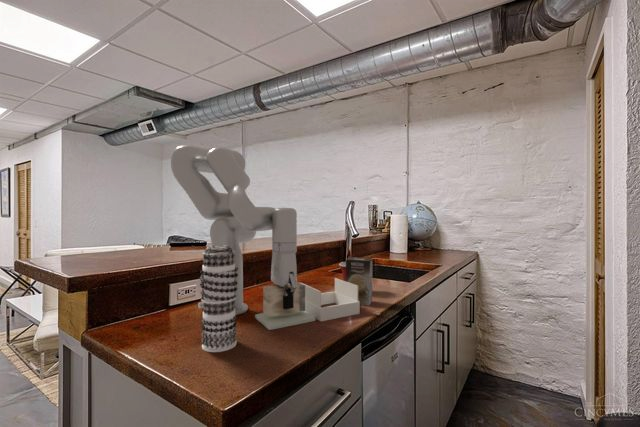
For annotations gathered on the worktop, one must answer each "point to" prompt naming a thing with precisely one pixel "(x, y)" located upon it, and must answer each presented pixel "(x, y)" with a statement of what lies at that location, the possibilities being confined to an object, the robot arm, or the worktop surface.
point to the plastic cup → (343, 270)
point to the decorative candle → (218, 299)
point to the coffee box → (360, 277)
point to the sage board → (284, 319)
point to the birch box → (275, 300)
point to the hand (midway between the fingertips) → (284, 305)
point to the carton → (332, 301)
